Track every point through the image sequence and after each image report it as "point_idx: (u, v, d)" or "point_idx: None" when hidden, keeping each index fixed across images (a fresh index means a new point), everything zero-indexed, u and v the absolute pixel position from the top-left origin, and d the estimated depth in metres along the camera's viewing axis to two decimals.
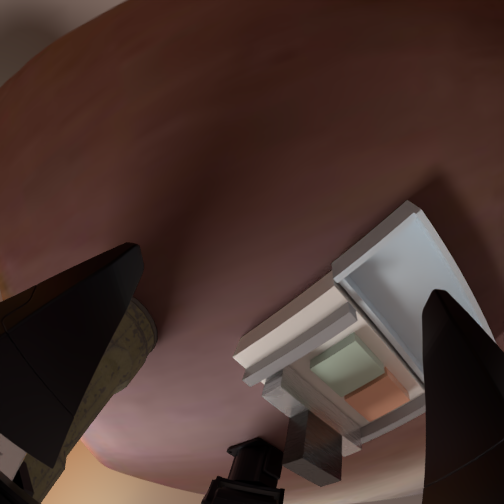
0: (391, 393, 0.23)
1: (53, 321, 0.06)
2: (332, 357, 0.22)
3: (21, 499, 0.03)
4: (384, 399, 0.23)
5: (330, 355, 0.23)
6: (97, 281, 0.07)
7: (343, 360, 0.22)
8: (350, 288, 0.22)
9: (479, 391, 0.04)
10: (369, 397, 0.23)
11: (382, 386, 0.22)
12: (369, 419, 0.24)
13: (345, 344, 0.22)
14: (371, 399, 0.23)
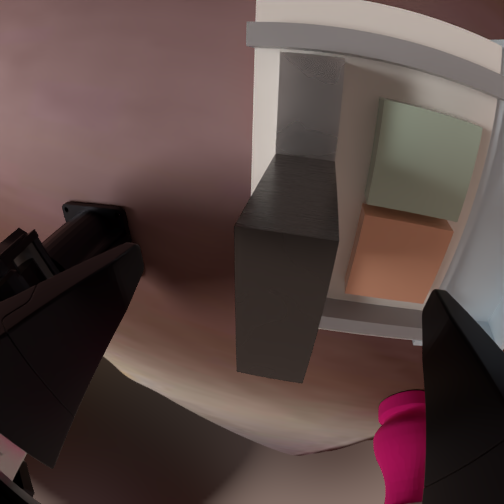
0: (423, 268, 0.13)
1: (53, 321, 0.06)
2: (434, 115, 0.09)
3: (21, 499, 0.03)
4: (407, 269, 0.13)
5: (431, 110, 0.09)
6: (97, 281, 0.07)
7: (442, 138, 0.10)
8: None
9: (479, 391, 0.04)
10: (397, 245, 0.13)
11: (430, 243, 0.12)
12: (350, 287, 0.15)
13: (462, 120, 0.09)
14: (395, 252, 0.13)
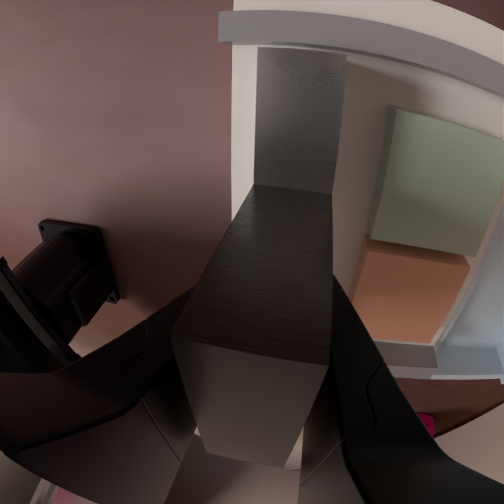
0: (433, 307, 0.11)
1: None
2: (457, 130, 0.07)
3: None
4: (414, 309, 0.11)
5: (453, 124, 0.07)
6: None
7: (465, 159, 0.08)
8: None
9: (326, 385, 0.05)
10: (405, 284, 0.11)
11: (443, 281, 0.10)
12: None
13: (489, 136, 0.07)
14: (401, 291, 0.11)
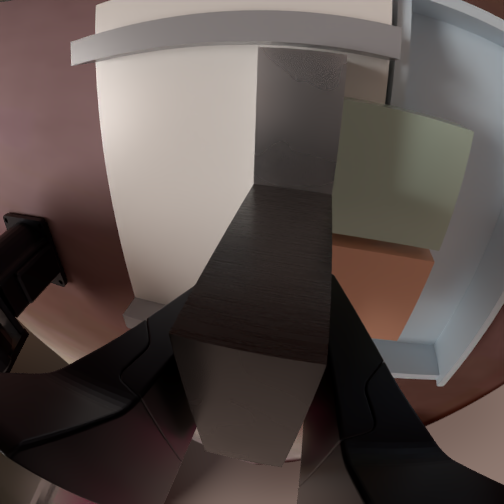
0: (397, 303, 0.11)
1: None
2: (408, 117, 0.07)
3: None
4: (376, 304, 0.12)
5: (404, 110, 0.08)
6: None
7: (418, 147, 0.08)
8: (407, 26, 0.07)
9: (325, 385, 0.05)
10: (363, 278, 0.11)
11: (404, 275, 0.10)
12: None
13: (447, 122, 0.07)
14: (360, 286, 0.11)
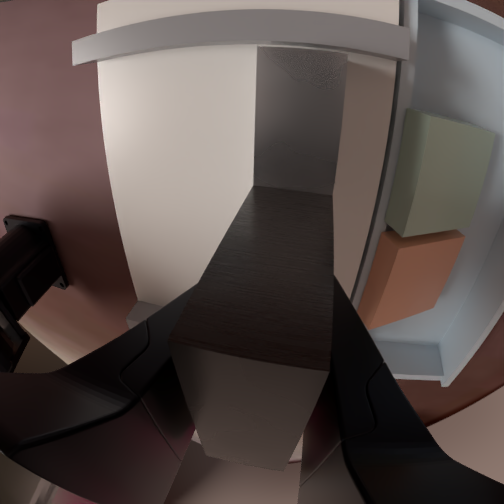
0: (439, 278, 0.13)
1: None
2: (466, 128, 0.08)
3: None
4: (426, 285, 0.12)
5: (461, 122, 0.08)
6: None
7: (468, 151, 0.09)
8: (414, 27, 0.07)
9: (326, 385, 0.05)
10: (422, 267, 0.12)
11: (447, 254, 0.12)
12: (374, 323, 0.13)
13: (480, 127, 0.09)
14: (419, 274, 0.12)
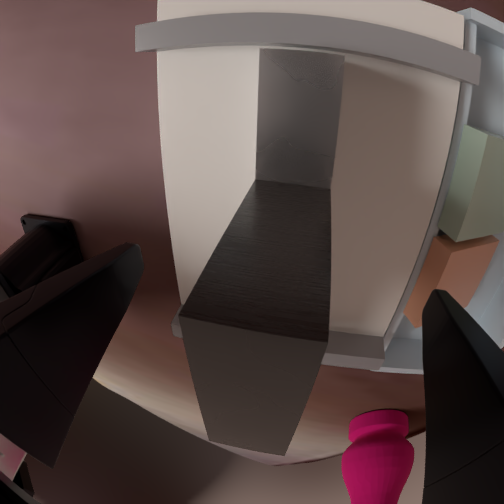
0: (475, 278, 0.12)
1: (53, 321, 0.06)
2: None
3: (21, 499, 0.03)
4: (465, 285, 0.12)
5: None
6: (97, 281, 0.07)
7: None
8: (473, 50, 0.07)
9: (479, 391, 0.04)
10: (465, 269, 0.12)
11: (484, 257, 0.12)
12: (421, 321, 0.13)
13: None
14: (462, 275, 0.12)
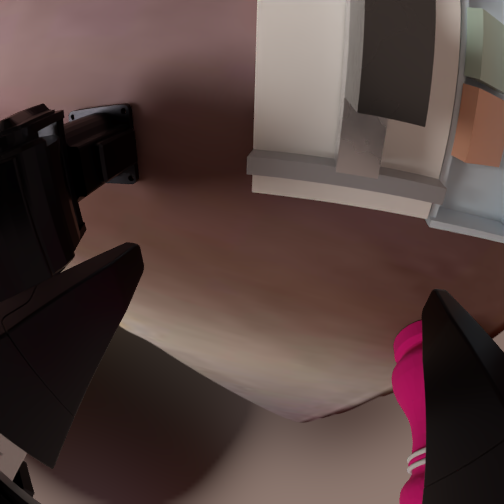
0: (501, 134, 0.13)
1: (54, 321, 0.06)
2: (501, 25, 0.08)
3: (21, 499, 0.03)
4: (494, 135, 0.13)
5: (497, 21, 0.08)
6: (97, 281, 0.07)
7: None
8: None
9: (479, 391, 0.04)
10: (491, 114, 0.12)
11: None
12: (468, 156, 0.13)
13: None
14: (490, 120, 0.12)
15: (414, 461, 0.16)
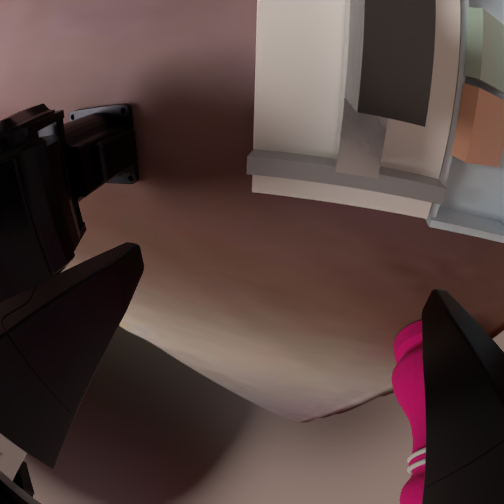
0: (501, 134, 0.13)
1: (53, 321, 0.06)
2: (501, 24, 0.08)
3: (21, 499, 0.03)
4: (494, 135, 0.13)
5: (497, 21, 0.08)
6: (97, 281, 0.07)
7: None
8: None
9: (479, 391, 0.04)
10: (491, 114, 0.12)
11: (503, 113, 0.12)
12: (468, 156, 0.13)
13: None
14: (490, 120, 0.12)
15: (414, 461, 0.16)
